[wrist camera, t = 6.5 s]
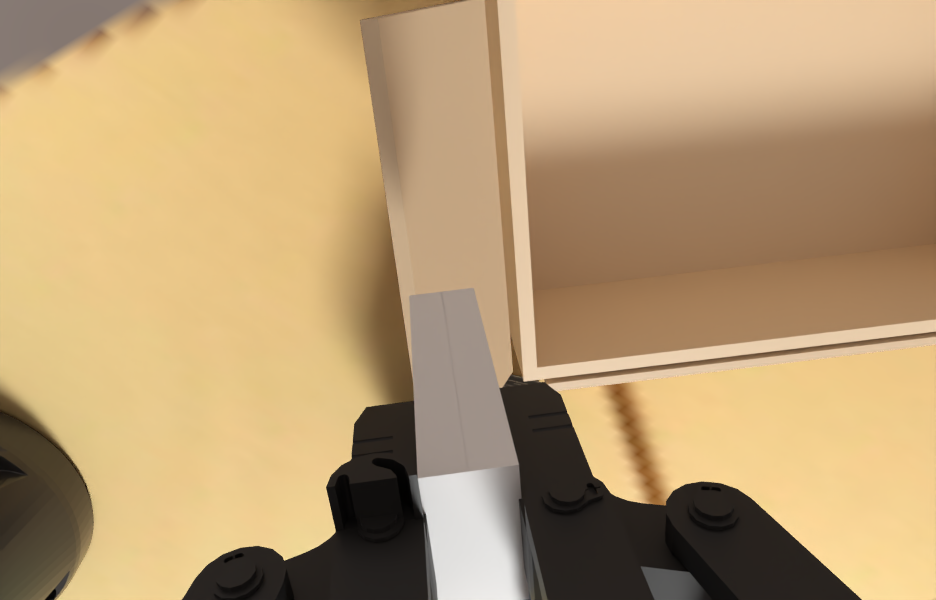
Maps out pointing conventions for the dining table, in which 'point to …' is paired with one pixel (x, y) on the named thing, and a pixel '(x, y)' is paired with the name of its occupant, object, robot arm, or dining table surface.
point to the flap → (441, 159)
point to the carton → (713, 182)
